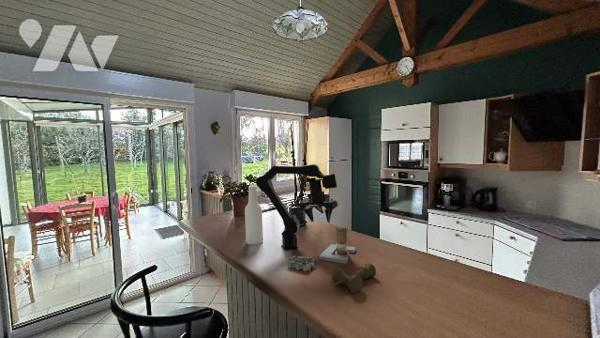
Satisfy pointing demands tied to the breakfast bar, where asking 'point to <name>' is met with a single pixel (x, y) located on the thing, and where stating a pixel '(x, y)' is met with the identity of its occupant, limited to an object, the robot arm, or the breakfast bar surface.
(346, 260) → the notched board
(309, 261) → the egg carton
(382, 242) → the breakfast bar surface
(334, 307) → the breakfast bar surface
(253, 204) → the alcohol
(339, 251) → the bobbin
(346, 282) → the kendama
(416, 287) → the breakfast bar surface
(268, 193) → the robot arm
